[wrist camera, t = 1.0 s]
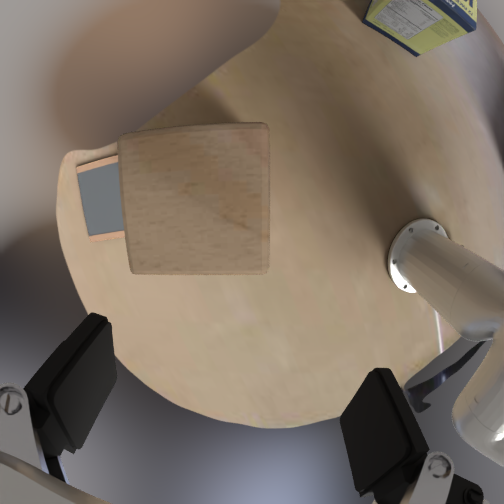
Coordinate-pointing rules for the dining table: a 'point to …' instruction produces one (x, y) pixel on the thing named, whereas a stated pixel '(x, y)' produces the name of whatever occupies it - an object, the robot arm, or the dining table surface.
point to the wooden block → (196, 199)
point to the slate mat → (101, 199)
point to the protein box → (421, 21)
